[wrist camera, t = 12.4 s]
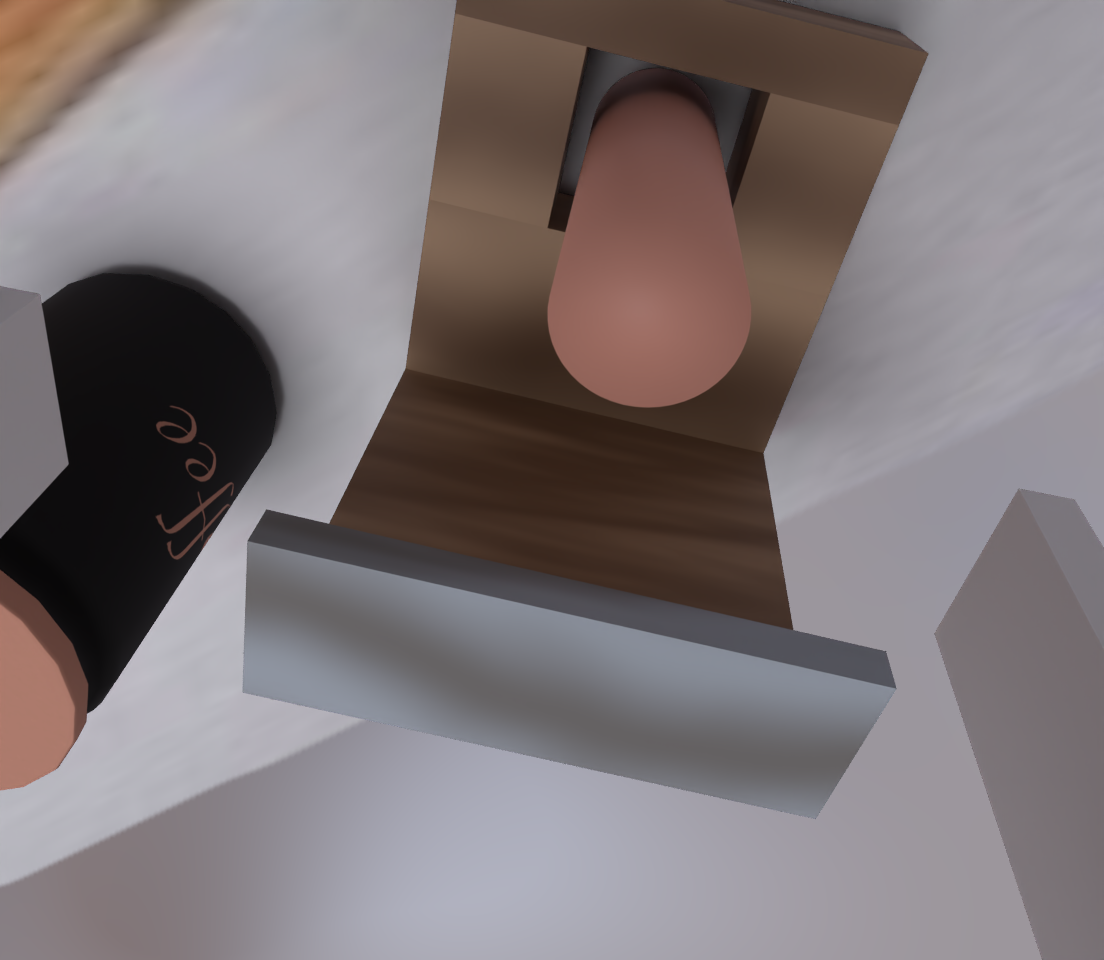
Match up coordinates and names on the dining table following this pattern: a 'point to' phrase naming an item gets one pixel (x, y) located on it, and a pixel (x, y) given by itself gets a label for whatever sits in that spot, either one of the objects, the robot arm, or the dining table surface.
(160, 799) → the dining table surface
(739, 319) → the peg
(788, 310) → the station
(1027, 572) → the robot arm
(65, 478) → the coffee jar
